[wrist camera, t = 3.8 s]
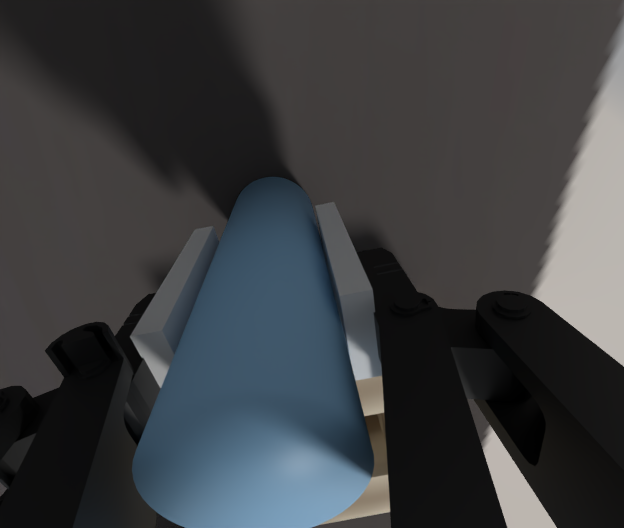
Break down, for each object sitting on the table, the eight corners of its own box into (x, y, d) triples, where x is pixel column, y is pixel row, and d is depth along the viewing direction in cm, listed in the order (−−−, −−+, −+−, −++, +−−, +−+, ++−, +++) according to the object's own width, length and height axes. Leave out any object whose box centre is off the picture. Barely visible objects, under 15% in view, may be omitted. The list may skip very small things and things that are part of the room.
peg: (223, 185, 16) (84, 421, 5) (305, 169, 16) (360, 368, 5) (245, 258, 18) (183, 554, 7) (319, 244, 18) (383, 517, 7)
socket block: (214, 327, 20) (197, 387, 16) (415, 289, 20) (448, 339, 16) (270, 467, 27) (267, 534, 23) (421, 439, 27) (446, 501, 23)
